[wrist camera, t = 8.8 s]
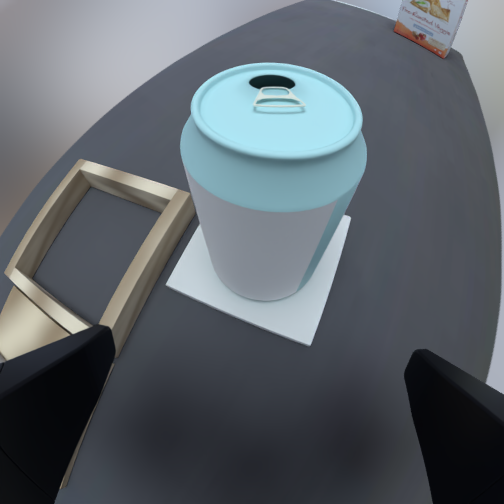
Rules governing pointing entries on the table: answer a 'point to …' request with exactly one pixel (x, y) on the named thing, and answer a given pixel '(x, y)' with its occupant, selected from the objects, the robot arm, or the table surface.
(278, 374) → the table surface
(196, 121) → the can
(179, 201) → the beige slotted open frame
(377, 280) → the table surface
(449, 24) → the cracker box
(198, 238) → the mat
